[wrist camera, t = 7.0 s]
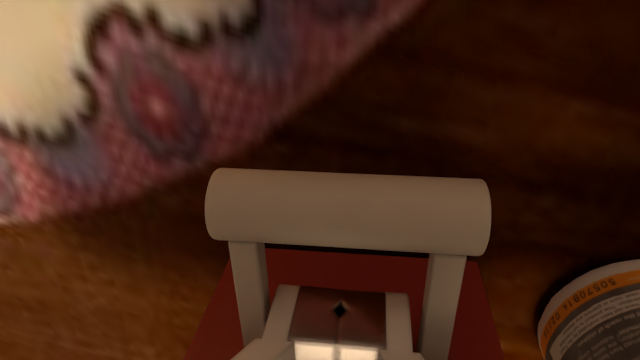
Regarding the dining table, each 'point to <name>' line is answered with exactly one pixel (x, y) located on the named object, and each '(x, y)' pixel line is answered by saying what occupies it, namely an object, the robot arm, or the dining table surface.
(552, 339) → the pill bottle
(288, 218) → the drawer
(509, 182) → the dining table surface
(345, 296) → the robot arm
